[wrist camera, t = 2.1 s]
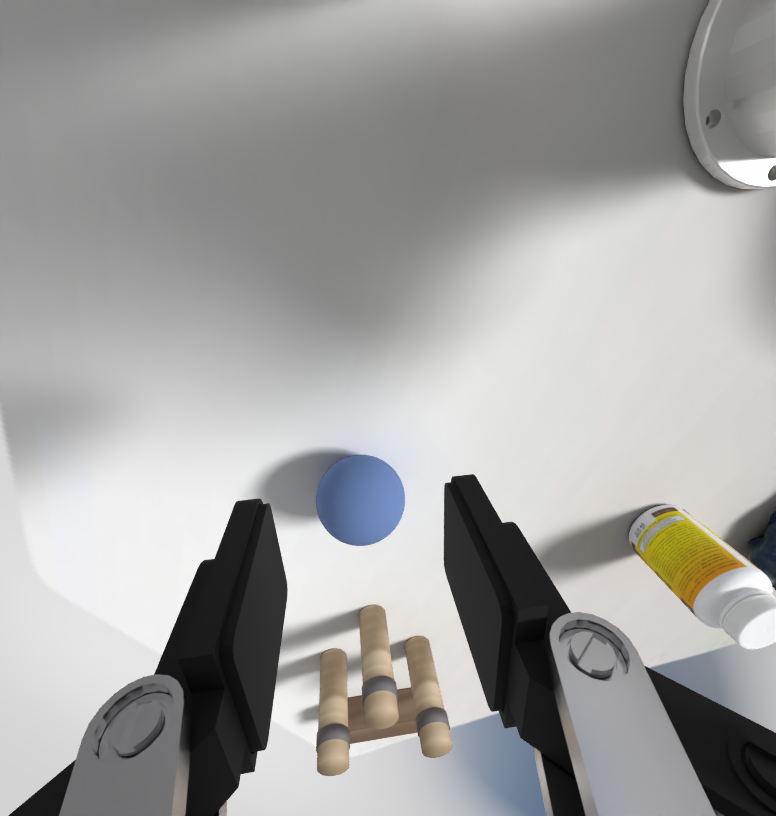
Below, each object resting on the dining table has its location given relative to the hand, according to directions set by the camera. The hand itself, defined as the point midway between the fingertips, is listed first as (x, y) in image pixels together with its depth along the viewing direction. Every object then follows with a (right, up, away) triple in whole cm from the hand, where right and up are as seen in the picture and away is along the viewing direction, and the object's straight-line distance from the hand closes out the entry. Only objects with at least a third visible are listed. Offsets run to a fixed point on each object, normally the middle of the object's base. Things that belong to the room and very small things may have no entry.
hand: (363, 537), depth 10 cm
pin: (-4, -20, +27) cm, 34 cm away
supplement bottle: (+25, -7, +26) cm, 36 cm away
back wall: (0, -27, +31) cm, 41 cm away
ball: (-1, -3, +17) cm, 17 cm away
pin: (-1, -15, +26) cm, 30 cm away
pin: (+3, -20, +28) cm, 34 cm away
